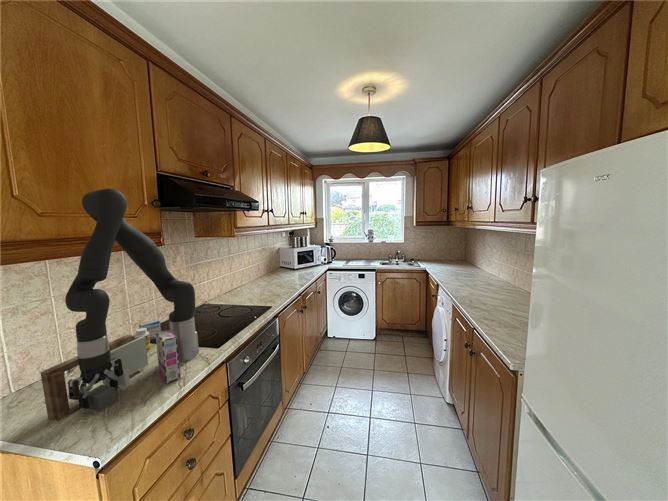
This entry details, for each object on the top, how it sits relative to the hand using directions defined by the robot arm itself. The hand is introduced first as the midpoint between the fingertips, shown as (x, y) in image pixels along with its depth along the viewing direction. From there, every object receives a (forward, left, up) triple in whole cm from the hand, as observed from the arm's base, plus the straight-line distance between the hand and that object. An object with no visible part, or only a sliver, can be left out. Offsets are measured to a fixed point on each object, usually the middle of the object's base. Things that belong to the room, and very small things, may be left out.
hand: (100, 399), depth 87 cm
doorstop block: (0, 0, -2) cm, 2 cm away
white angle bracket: (-14, -3, -1) cm, 14 cm away
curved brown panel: (-5, -7, -2) cm, 9 cm away
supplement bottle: (-32, -20, -2) cm, 38 cm away
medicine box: (-43, -28, -2) cm, 51 cm away
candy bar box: (-19, +8, -2) cm, 21 cm away
